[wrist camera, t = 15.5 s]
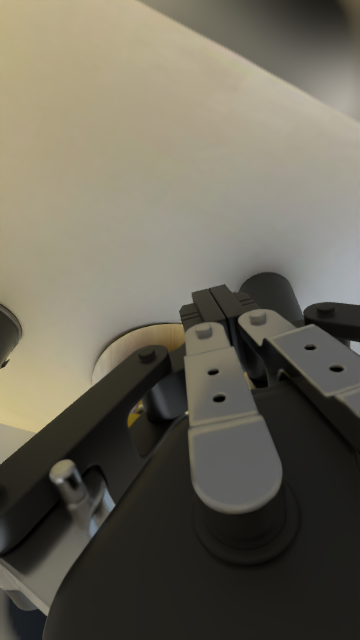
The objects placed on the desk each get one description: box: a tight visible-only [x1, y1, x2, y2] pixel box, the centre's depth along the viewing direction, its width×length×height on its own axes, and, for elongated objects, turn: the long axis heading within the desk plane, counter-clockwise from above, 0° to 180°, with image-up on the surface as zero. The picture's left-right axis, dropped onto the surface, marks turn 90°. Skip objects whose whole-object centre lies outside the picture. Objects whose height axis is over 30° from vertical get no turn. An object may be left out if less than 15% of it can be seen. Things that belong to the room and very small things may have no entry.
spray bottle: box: [239, 273, 304, 321], centre depth 33 cm, size 9×7×20 cm
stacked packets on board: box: [92, 324, 251, 427], centre depth 46 cm, size 25×25×17 cm
